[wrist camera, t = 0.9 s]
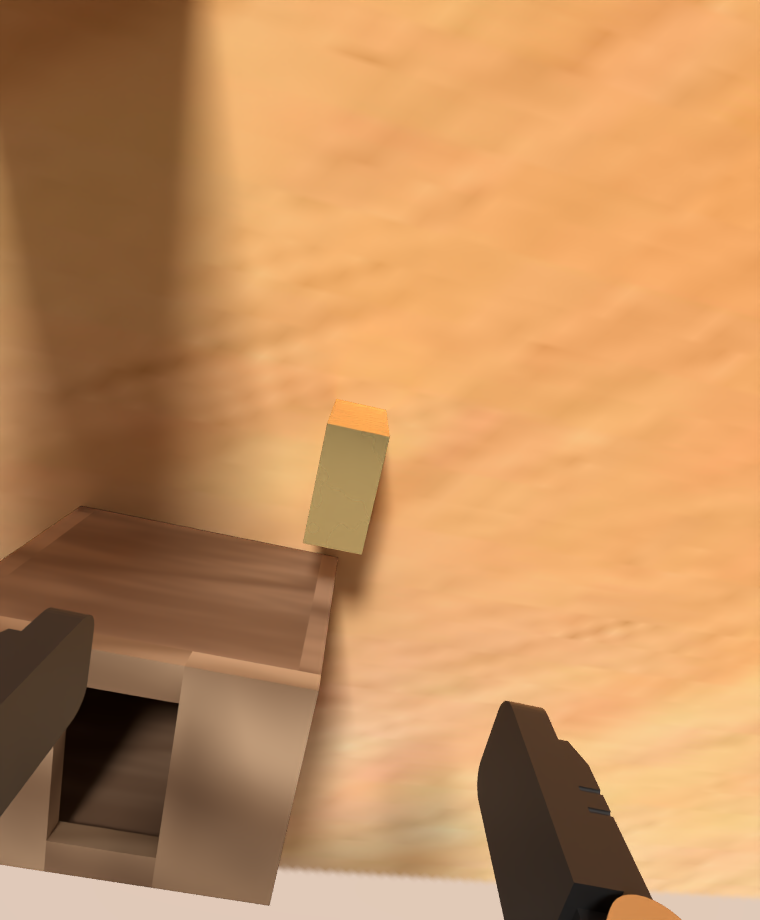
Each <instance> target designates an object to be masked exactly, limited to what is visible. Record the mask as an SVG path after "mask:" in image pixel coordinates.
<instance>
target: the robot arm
mask: <svg viewBox="0 0 760 920" xmlns="http://www.w3.org/2000/svg"><path fill="white" fill-rule="evenodd" d="M93 633H94V618H93V616H92V615H88V614H83V613H78V612H73V611H68V610H63V609H58V608H53V607H50V608H47V609H46V610H44V611H43V612H42V613H41V614H40V615H39V616H37V617H36V618H35V619H34V620H33V621H32V622H31V623H30V624H28V625H27V626H26V627H25V628H24V629H23V630H22V631H19V630H14V629H6V630H4V631H2V632H0V817H1V815H2V814H3V813H4V811H5V810H6V809H7V807H8V806H9V805H10V803H11V802H12V801H13V799H14V798H15V797H16V795H17V794H18V793H19V791H20V790H21V789H22V787H23V786H24V785H25V783H26V782H27V781H28V779H29V778H30V777H31V775H32V774H33V773H34V771H35V770H36V769H37V767H38V766H39V765H40V763H41V762H42V761H43V759H44V758H45V757H46V755H47V754H48V753H49V751H50V750H51V749H52V747H53V746H54V745H55V743H56V742H57V741H58V739H59V738H60V736H61V735H62V734H63V732H64V731H65V730H66V728H67V727H68V726H69V724H70V723H71V722H72V720H73V719H74V717H75V715H76V714H77V712H78V710H79V708H80V706H81V703H82V701H83V698H84V695H85V692H86V688H87V682H88V674H89V666H90V658H91V650H92V642H93ZM477 791H478V800H479V805H480V809H481V814H482V819H483V823H484V828H485V833H486V837H487V842H488V847H489V851H490V856H491V860H492V865H493V870H494V874H495V879H496V884H497V888H498V892H499V898H500V902H501V907H502V911H503V916H504V920H681V919H680V918H679V917H678V916H677V915H675V914H674V913H673V912H671V911H670V910H669V909H668V908H666V907H664V906H663V905H661V904H659V903H658V902H656V901H654V900H653V899H652V897H651V895H650V893H649V891H648V889H647V887H646V885H645V883H644V880H643V878H642V876H641V874H640V872H639V870H638V868H637V866H636V864H635V862H634V860H633V857H632V855H631V853H630V851H629V849H628V847H627V845H626V843H625V841H624V839H623V837H622V834H621V832H620V830H619V828H618V826H617V824H616V822H615V820H614V818H613V817H611V816H610V812H611V811H610V809H609V807H608V805H607V803H606V801H605V799H604V797H603V795H600V788H599V786H598V784H597V782H596V780H595V778H594V776H593V774H592V772H591V770H590V767H589V765H588V764H587V763H586V762H585V760H584V759H583V758H582V757H581V756H580V755H579V754H578V752H577V751H576V750H575V749H574V748H573V747H572V746H571V744H570V743H569V742H568V741H564V740H559V739H558V738H557V736H556V733H555V731H554V729H553V727H552V724H551V722H550V720H549V717H548V715H547V713H546V711H545V710H544V709H543V708H539V707H534V706H530V705H525V704H520V703H515V702H510V701H504V702H503V703H502V704H501V706H500V708H499V710H498V713H497V716H496V719H495V722H494V725H493V728H492V730H491V733H490V736H489V739H488V742H487V745H486V748H485V750H484V753H483V756H482V759H481V762H480V766H479V771H478V781H477Z"/></svg>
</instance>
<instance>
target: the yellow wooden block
mask: <svg viewBox="0 0 760 920" xmlns="http://www.w3.org/2000/svg"><path fill="white" fill-rule="evenodd" d="M389 437H390V436H389V429H388V421H387V414H386V410H384V409H379V408H375V407H370V406H366V405H361V404H357V403H352V402H348V401H343V400H339V399H336V402H335V404H334V407H333V410H332V412H331V415H330V418H329V420H328V423H327V427H326V432H325V437H324V442H323V447H322V452H321V457H320V462H319V467H318V472H317V476H316V481H315V486H314V491H313V496H312V501H311V506H310V511H309V516H308V521H307V526H306V531H305V536H304V540H303V543H305V544H310V545H315V546H320V547H325V548H330V549H335V550H340V551H345V552H350V553H355V554H360V555H362V551H363V547H364V543H365V539H366V535H367V530H368V526H369V522H370V518H371V513H372V509H373V505H374V501H375V496H376V492H377V488H378V484H379V480H380V475H381V471H382V467H383V463H384V458H385V454H386V450H387V446H388V442H389Z"/></svg>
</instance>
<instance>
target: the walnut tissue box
mask: <svg viewBox="0 0 760 920" xmlns="http://www.w3.org/2000/svg"><path fill="white" fill-rule="evenodd" d="M337 560H338V557H333V556H328V555H323V554H318V553H313V552H308V551H303V550H298V549H293V548H288V547H283V546H278V545H273V544H268V543H263V542H258V541H253V540H248V539H243V538H238V537H233V536H228V535H223V534H218V533H213V532H208V531H203V530H198V529H193V528H188V527H183V526H178V525H173V524H168V523H163V522H158V521H153V520H148V519H143V518H138V517H133V516H128V515H123V514H118V513H113V512H108V511H103V510H98V509H93V508H88V507H83V506H80V507H79V508H77V509H76V510H74V511H73V512H71V513H70V514H68V515H67V516H65V517H64V518H63V519H61V520H60V521H58V522H57V523H55V524H54V525H52V526H51V527H49V528H48V529H46V530H45V531H44V532H42V533H41V534H39V535H38V536H36V537H35V538H33V539H32V540H30V541H29V542H27V543H26V544H25V545H23V546H22V547H20V548H19V549H17V550H16V551H14V552H13V553H11V554H10V555H8V556H7V557H6V558H4V559H3V560H1V561H0V632H2V631H4V630H6V629H14V630H19V631H22V630H23V629H24V628H25V627H26V626H27V625H28V624H30V623H31V622H32V621H33V620H34V619H35V618H36V617H37V616H39V615H40V614H41V613H42V612H43V611H44V610H46V609H47V608H50V607H53V608H58V609H63V610H68V611H73V612H78V613H83V614H88V615H92V616H93V618H94V633H93V642H92V650H91V658H90V666H89V674H88V682H87V688H86V692H85V695H84V698H83V701H82V703H81V706H80V708H79V710H78V712H77V714H76V715H75V717H74V719H73V720H72V722H71V723H70V724H69V726H68V727H67V728H66V730H65V731H64V732H63V734H62V735H61V736H60V738H59V739H58V741H57V742H56V743H55V745H54V746H53V747H52V749H51V750H50V751H49V753H48V754H47V755H46V757H45V758H44V759H43V761H42V762H41V763H40V765H39V766H38V767H37V769H36V770H35V771H34V773H33V774H32V775H31V777H30V778H29V779H28V781H27V782H26V783H25V785H24V786H23V787H22V789H21V790H20V791H19V793H18V794H17V795H16V797H15V798H14V799H13V801H12V802H11V803H10V805H9V806H8V807H7V809H6V810H5V811H4V813H3V814H2V815H1V817H0V865H7V866H13V867H20V868H26V869H33V870H39V871H46V872H52V873H59V874H66V875H72V876H79V877H85V878H92V879H98V880H105V881H112V882H119V883H125V884H132V885H137V886H144V887H151V888H158V889H164V890H170V891H178V892H183V893H190V894H196V895H203V896H209V897H216V898H223V899H229V900H236V901H242V902H249V903H255V904H262V905H268V906H269V905H270V900H271V896H272V892H273V888H274V883H275V879H276V874H277V870H278V866H279V861H280V857H281V853H282V848H283V844H284V840H285V835H286V831H287V827H288V822H289V818H290V814H291V809H292V805H293V801H294V796H295V792H296V788H297V783H298V779H299V775H300V770H301V766H302V762H303V757H304V753H305V749H306V744H307V740H308V736H309V731H310V727H311V723H312V718H313V714H314V710H315V705H316V701H317V696H318V692H319V686H320V679H321V672H322V665H323V658H324V651H325V644H326V637H327V630H328V623H329V616H330V609H331V602H332V595H333V588H334V581H335V574H336V567H337Z"/></svg>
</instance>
